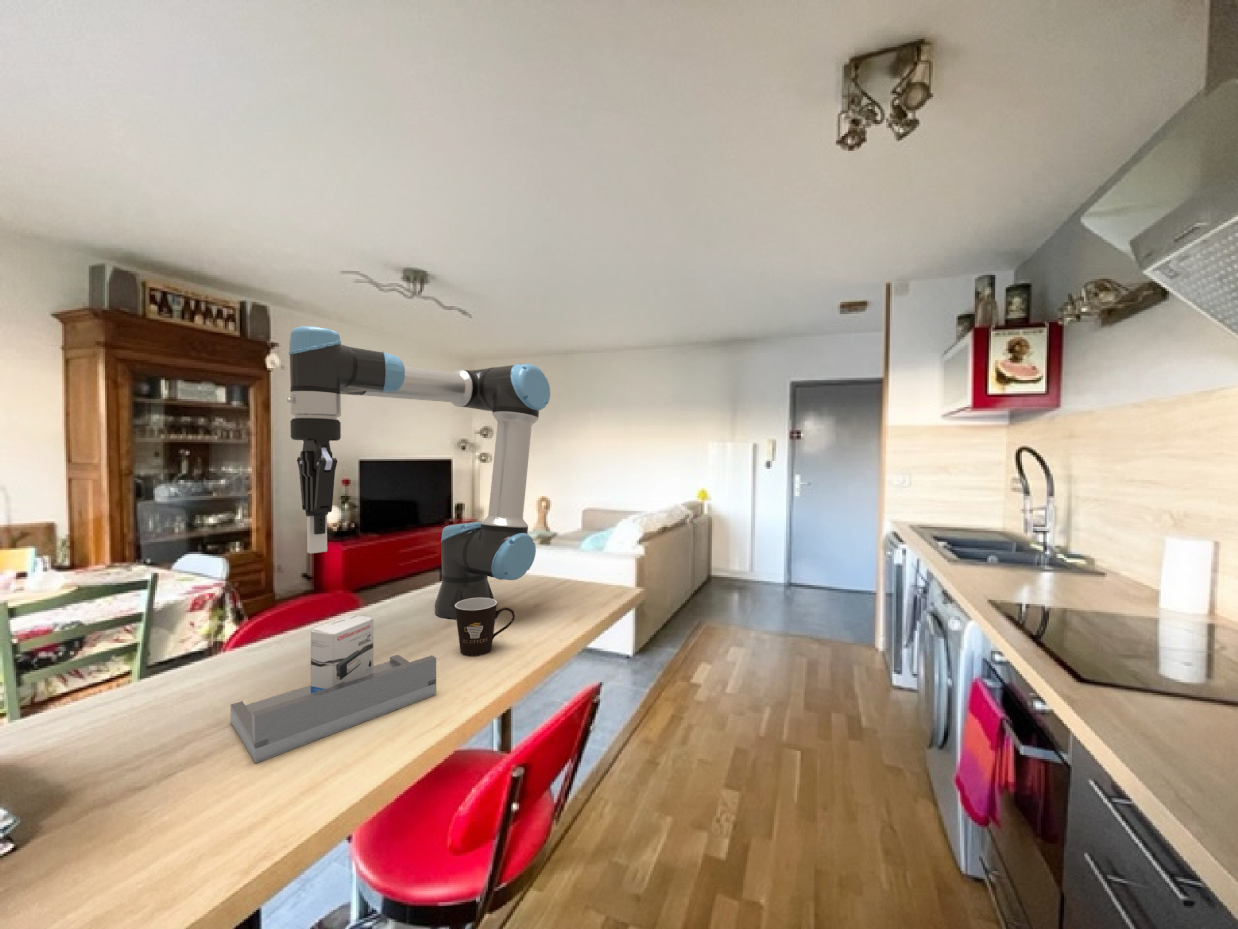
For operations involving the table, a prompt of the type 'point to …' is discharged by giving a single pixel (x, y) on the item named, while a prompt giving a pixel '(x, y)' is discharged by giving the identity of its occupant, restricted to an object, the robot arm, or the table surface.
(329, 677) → the ink box
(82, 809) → the table surface
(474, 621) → the coffee mug
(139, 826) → the table surface
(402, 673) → the gray tray
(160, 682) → the table surface
